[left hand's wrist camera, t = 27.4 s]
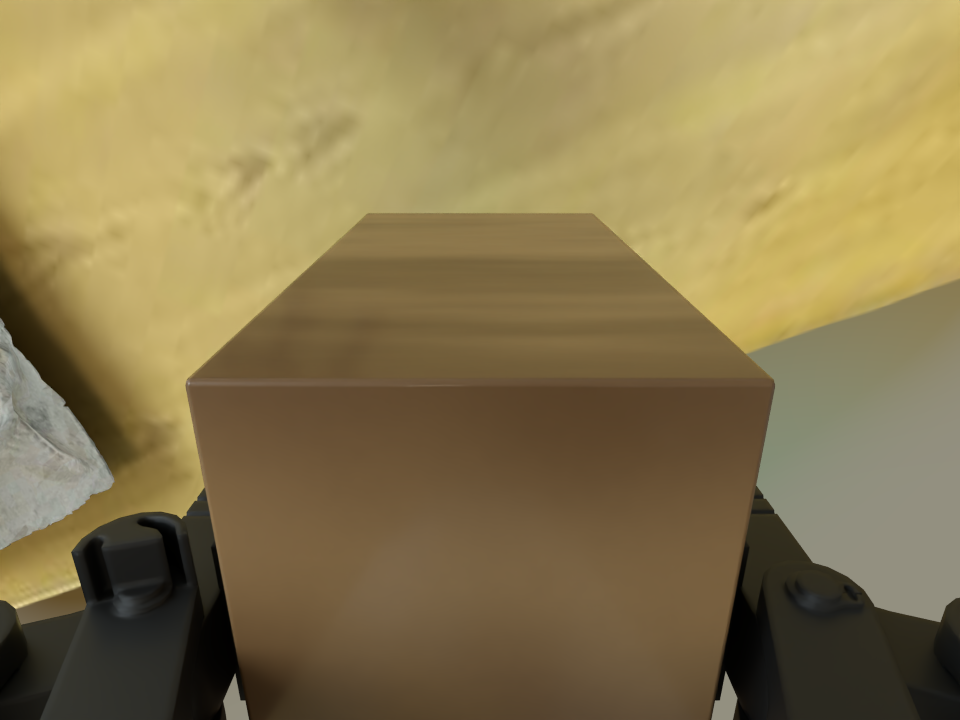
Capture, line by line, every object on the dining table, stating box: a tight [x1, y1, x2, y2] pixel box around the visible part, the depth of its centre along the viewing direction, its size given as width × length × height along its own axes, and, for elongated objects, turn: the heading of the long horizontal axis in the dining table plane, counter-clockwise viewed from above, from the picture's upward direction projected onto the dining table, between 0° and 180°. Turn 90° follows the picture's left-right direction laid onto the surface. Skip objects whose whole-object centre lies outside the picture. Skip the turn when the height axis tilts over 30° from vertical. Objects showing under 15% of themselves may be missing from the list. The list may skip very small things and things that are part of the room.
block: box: [186, 213, 775, 720], centre depth 12 cm, size 9×5×10 cm, turn 0°
